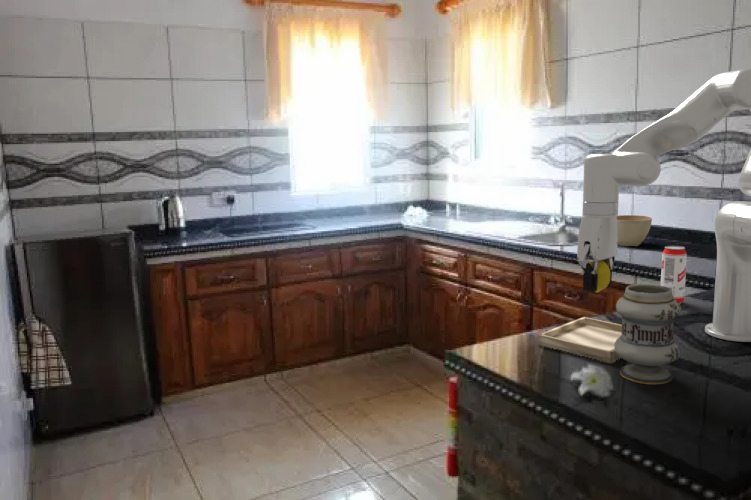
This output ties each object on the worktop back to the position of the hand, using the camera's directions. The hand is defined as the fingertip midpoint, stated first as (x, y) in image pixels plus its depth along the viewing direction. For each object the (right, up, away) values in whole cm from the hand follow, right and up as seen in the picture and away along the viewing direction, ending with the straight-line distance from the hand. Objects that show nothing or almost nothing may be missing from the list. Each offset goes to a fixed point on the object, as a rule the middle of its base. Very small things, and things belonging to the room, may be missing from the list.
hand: (597, 287), depth 142 cm
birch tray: (+1, -13, +2) cm, 13 cm away
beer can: (+34, -7, +35) cm, 49 cm away
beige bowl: (+59, +10, +127) cm, 141 cm away
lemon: (0, -1, 0) cm, 1 cm away
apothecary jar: (+3, -17, -17) cm, 24 cm away
